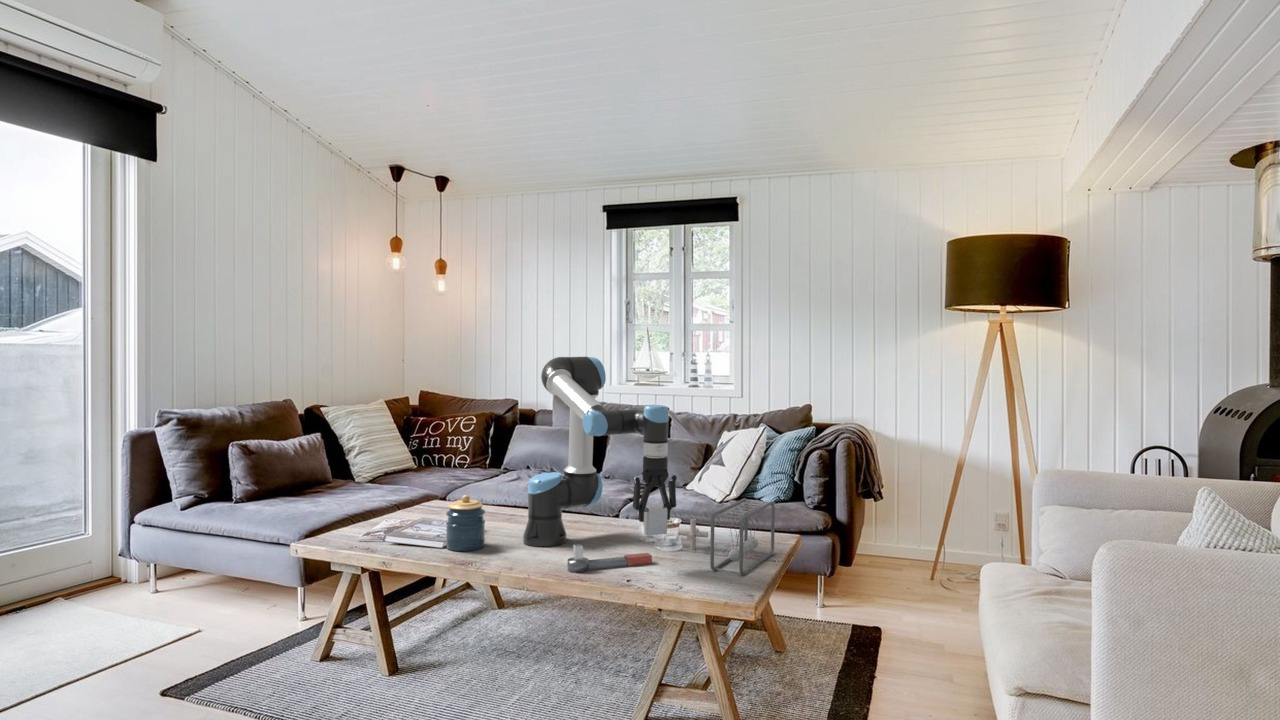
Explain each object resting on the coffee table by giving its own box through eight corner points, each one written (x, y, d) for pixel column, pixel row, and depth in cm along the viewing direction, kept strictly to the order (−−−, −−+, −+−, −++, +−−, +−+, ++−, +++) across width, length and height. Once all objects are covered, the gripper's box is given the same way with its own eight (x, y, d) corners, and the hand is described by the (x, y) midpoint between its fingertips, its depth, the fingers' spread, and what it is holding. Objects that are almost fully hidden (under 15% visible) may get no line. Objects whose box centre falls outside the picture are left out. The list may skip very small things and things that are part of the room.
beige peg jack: (682, 543, 255) (682, 515, 255) (710, 546, 252) (710, 517, 252) (674, 551, 245) (675, 521, 245) (704, 554, 242) (704, 523, 242)
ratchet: (565, 567, 226) (565, 543, 226) (646, 559, 235) (646, 536, 235) (570, 573, 220) (570, 548, 220) (653, 565, 229) (653, 541, 229)
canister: (487, 541, 257) (488, 491, 256) (481, 551, 244) (482, 498, 243) (450, 542, 256) (450, 491, 256) (442, 552, 243) (442, 499, 243)
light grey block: (641, 530, 226) (641, 504, 226) (659, 528, 229) (659, 503, 228) (648, 535, 221) (648, 509, 221) (666, 533, 223) (667, 507, 223)
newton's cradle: (744, 549, 249) (745, 496, 249) (774, 553, 244) (775, 500, 244) (709, 572, 223) (710, 513, 222) (742, 577, 217) (742, 517, 217)
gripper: (630, 459, 217) (628, 536, 218) (688, 456, 224) (687, 532, 224) (621, 455, 224) (620, 530, 225) (679, 452, 231) (677, 526, 231)
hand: (654, 531), depth 225 cm, fingers closed on light grey block, 6 cm apart
